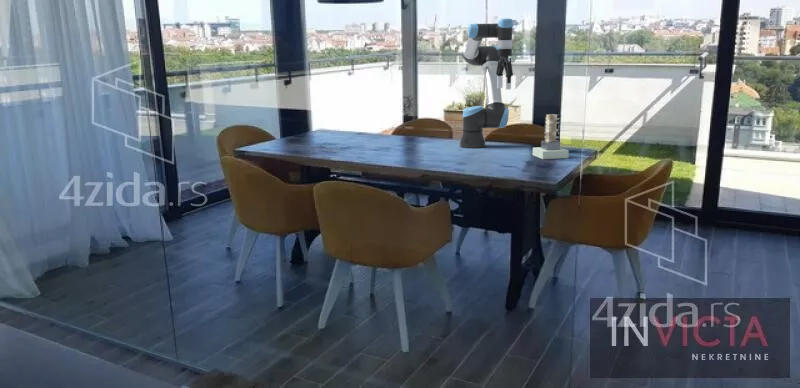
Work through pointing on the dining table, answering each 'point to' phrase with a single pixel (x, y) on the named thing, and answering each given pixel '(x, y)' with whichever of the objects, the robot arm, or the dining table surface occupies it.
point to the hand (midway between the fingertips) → (503, 88)
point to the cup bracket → (550, 145)
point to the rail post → (551, 127)
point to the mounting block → (550, 153)
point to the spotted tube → (556, 128)
